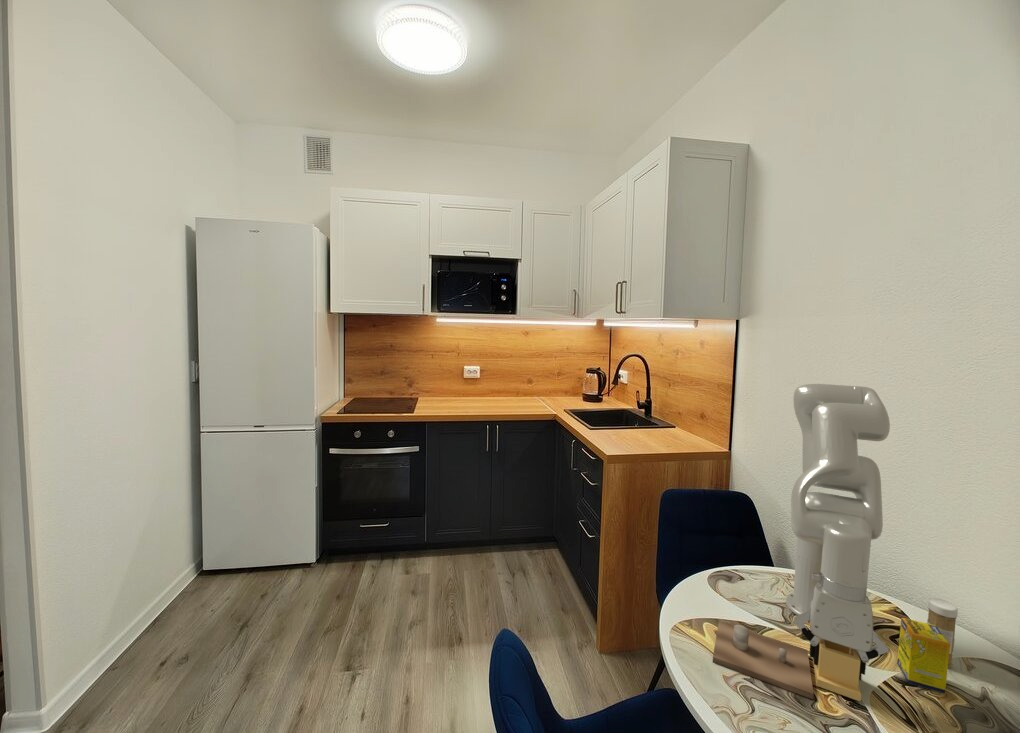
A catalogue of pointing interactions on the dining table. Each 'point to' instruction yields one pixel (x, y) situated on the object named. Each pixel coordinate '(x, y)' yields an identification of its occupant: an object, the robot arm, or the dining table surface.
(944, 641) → the supplement box
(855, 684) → the tan stepped holder block
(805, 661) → the base
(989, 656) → the dining table surface
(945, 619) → the sprinkles bottle
